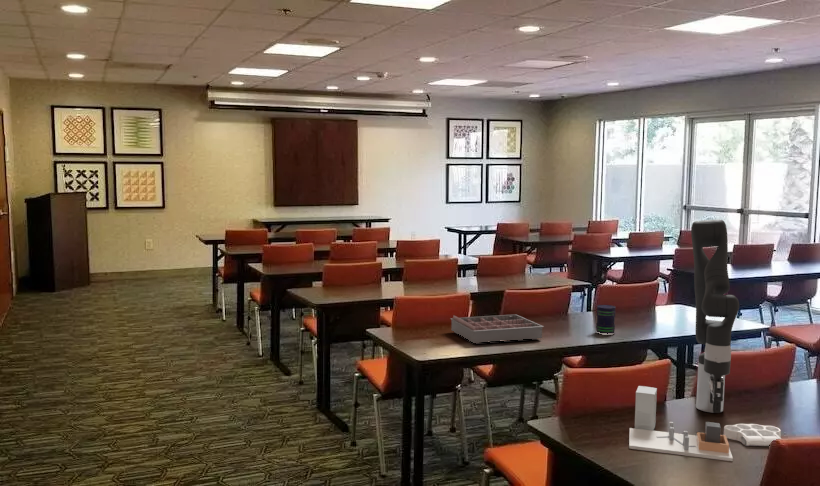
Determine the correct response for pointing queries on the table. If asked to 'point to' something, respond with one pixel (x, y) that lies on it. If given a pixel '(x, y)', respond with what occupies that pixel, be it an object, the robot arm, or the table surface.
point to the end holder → (712, 444)
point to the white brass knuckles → (752, 434)
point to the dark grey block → (712, 432)
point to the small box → (645, 408)
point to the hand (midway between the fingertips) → (714, 407)
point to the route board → (671, 443)
